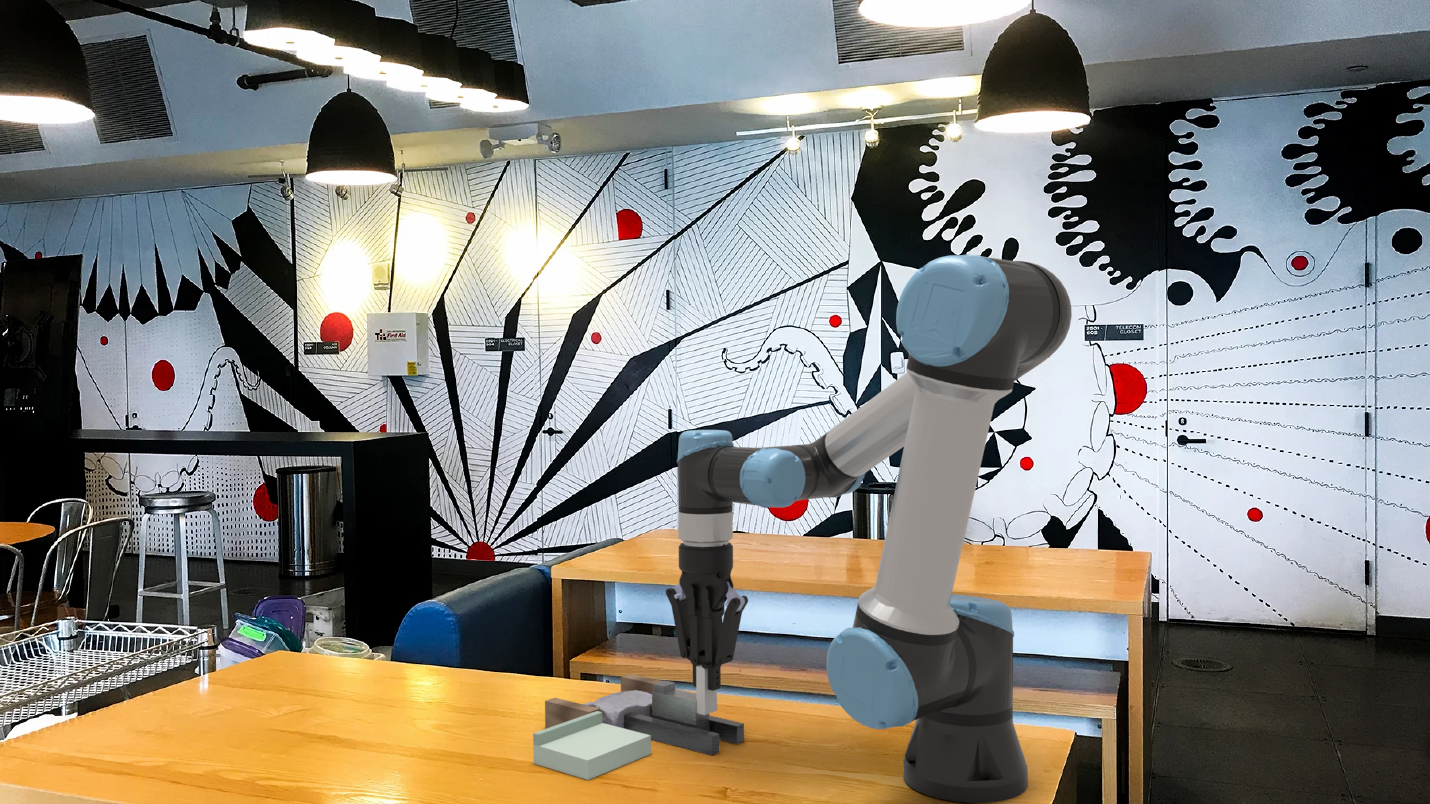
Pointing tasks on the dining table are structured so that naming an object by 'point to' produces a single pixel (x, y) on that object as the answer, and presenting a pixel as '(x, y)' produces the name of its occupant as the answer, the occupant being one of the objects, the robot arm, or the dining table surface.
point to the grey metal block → (677, 706)
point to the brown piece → (568, 710)
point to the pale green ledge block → (588, 746)
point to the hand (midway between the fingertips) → (706, 711)
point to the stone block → (622, 706)
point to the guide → (687, 732)
